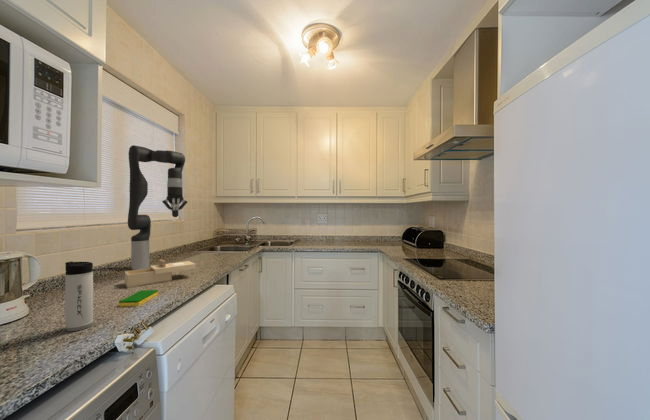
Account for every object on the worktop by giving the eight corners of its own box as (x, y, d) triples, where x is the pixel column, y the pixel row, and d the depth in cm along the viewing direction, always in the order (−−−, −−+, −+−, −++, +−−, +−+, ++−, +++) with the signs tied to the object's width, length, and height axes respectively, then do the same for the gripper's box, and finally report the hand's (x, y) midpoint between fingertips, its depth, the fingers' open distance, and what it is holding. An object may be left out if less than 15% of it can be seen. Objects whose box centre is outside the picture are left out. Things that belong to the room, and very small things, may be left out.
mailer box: (124, 283, 130) (124, 271, 130) (166, 277, 143) (166, 266, 143) (127, 288, 123) (127, 275, 123) (171, 280, 135) (171, 269, 135)
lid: (150, 270, 138) (150, 260, 138) (188, 265, 151) (188, 255, 151) (155, 274, 130) (155, 263, 130) (195, 268, 143) (195, 258, 143)
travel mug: (76, 323, 84) (75, 260, 84) (98, 322, 85) (98, 259, 85) (58, 332, 78) (57, 264, 78) (82, 331, 79) (81, 263, 79)
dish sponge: (118, 307, 99) (118, 301, 99) (141, 295, 113) (141, 290, 113) (138, 307, 100) (138, 300, 100) (158, 295, 113) (158, 289, 113)
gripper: (185, 187, 159) (185, 216, 159) (160, 186, 150) (160, 217, 150) (189, 186, 154) (189, 217, 154) (163, 185, 145) (163, 217, 145)
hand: (175, 217), depth 152 cm, fingers closed
